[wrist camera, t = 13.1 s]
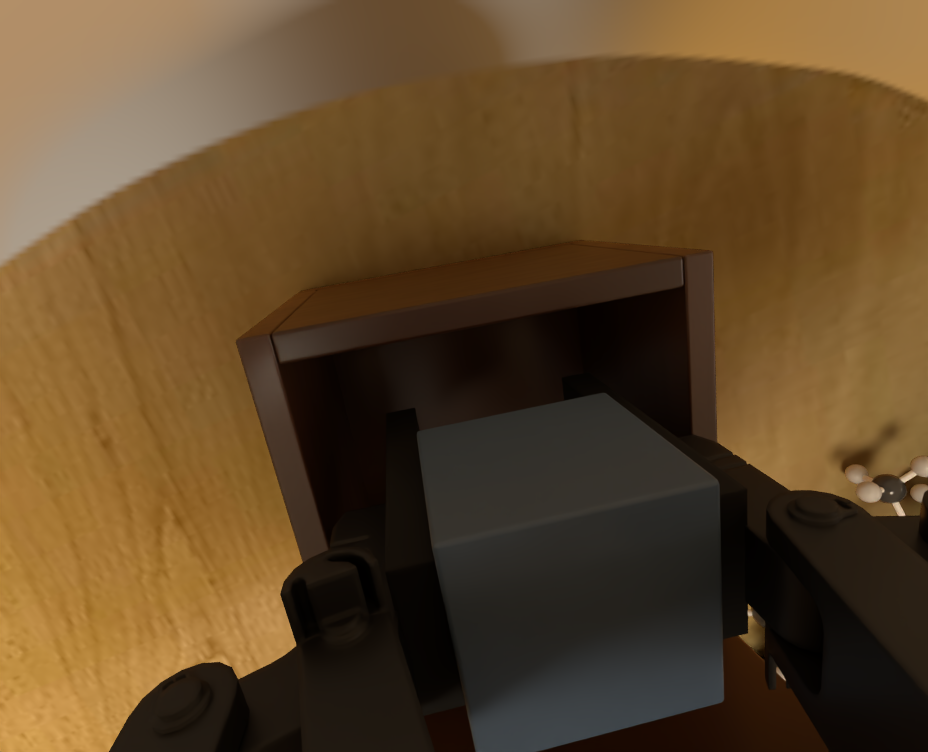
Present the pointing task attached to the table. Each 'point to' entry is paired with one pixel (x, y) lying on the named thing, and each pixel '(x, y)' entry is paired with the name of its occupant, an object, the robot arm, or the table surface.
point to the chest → (472, 358)
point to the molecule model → (879, 495)
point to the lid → (688, 720)
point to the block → (574, 572)
